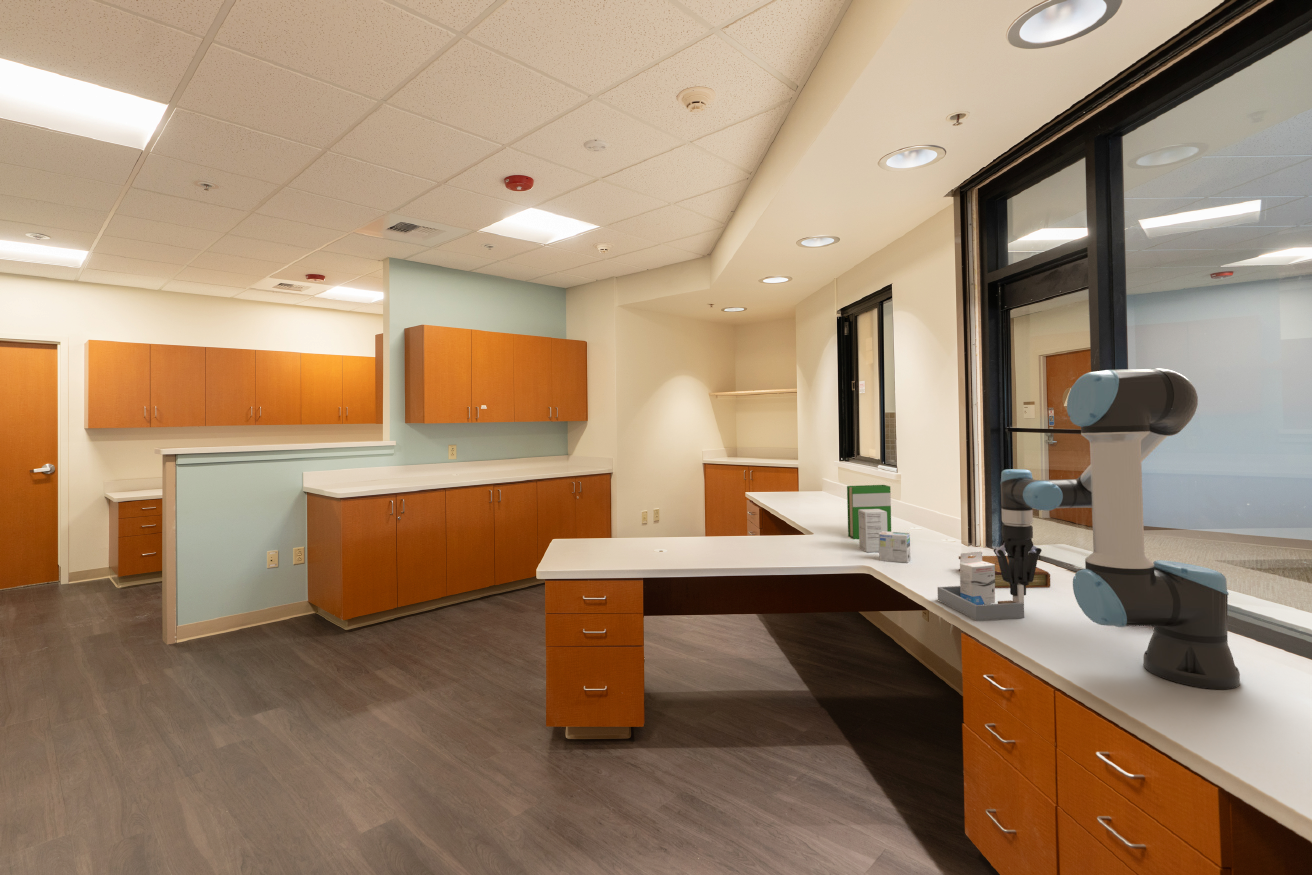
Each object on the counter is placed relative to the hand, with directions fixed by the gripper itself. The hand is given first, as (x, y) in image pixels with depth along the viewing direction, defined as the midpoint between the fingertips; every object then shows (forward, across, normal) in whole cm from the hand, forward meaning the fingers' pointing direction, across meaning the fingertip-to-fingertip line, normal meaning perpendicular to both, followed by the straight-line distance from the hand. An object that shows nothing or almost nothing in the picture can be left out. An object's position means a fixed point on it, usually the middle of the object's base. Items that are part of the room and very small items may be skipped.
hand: (1018, 606), depth 168 cm
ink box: (+2, +6, -9) cm, 11 cm away
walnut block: (+1, +3, 0) cm, 3 cm away
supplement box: (+2, +5, -83) cm, 84 cm away
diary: (+2, -17, -33) cm, 37 cm away
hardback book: (+2, -5, -110) cm, 110 cm away
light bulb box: (+2, +5, -64) cm, 65 cm away
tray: (+1, +9, -4) cm, 10 cm away
